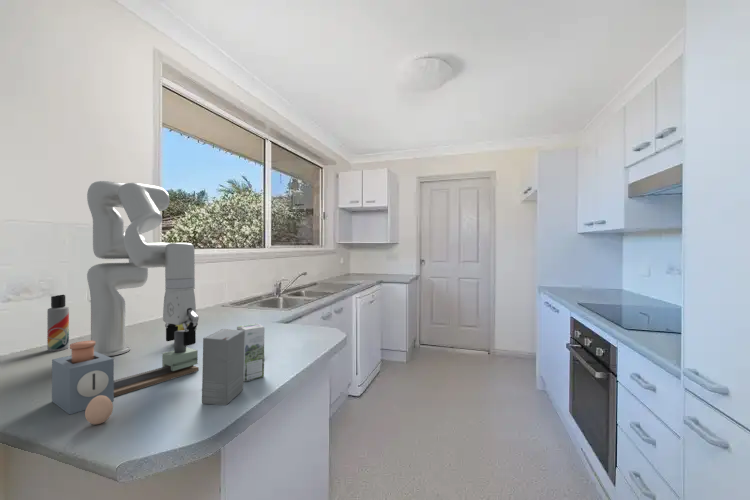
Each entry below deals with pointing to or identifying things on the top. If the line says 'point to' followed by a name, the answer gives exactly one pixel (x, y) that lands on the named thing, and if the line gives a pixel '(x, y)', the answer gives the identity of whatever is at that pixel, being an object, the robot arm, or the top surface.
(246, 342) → the syrup box
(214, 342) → the skincare box
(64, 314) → the lotion bottle
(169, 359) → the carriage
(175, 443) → the top surface
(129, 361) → the top surface
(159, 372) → the slide rail
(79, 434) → the top surface
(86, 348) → the button
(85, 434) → the top surface
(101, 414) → the egg
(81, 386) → the cabinet
